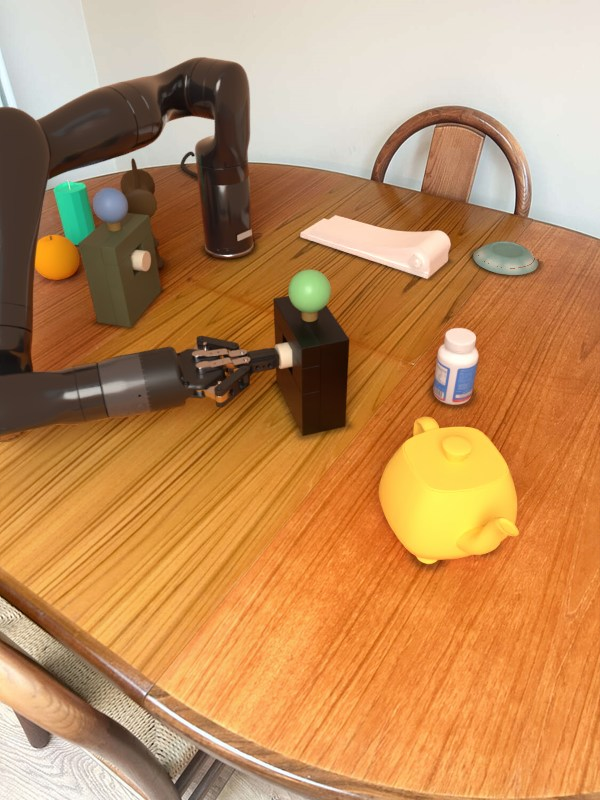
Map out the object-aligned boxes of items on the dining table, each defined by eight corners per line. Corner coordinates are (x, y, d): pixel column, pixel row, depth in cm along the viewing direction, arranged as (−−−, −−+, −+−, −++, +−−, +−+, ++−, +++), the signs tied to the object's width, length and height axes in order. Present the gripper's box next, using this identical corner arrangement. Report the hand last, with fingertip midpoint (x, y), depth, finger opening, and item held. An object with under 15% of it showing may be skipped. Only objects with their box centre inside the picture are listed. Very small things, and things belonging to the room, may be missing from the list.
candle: (89, 246, 128) (75, 186, 121) (60, 243, 129) (45, 184, 122) (102, 232, 133) (89, 174, 125) (74, 230, 134) (60, 172, 126)
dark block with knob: (302, 436, 86) (301, 301, 73) (276, 382, 94) (271, 253, 81) (345, 426, 87) (351, 292, 74) (315, 374, 96) (317, 246, 83)
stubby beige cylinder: (281, 373, 84) (281, 353, 82) (274, 359, 86) (274, 339, 84) (299, 370, 84) (299, 349, 82) (292, 356, 87) (291, 336, 85)
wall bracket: (324, 187, 130) (453, 223, 117) (328, 217, 136) (451, 255, 123) (295, 216, 125) (426, 257, 113) (300, 246, 131) (426, 288, 119)
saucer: (469, 234, 126) (468, 245, 127) (481, 264, 117) (479, 275, 118) (531, 234, 125) (529, 245, 127) (548, 264, 116) (545, 275, 118)
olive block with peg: (161, 291, 115) (143, 175, 102) (130, 327, 106) (106, 206, 93) (130, 286, 116) (108, 172, 103) (97, 322, 107) (68, 202, 94)
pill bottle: (473, 386, 93) (485, 328, 87) (468, 409, 89) (480, 351, 83) (435, 378, 95) (444, 321, 89) (428, 401, 91) (437, 343, 85)
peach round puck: (152, 265, 106) (149, 247, 104) (143, 274, 104) (140, 256, 102) (138, 263, 107) (135, 245, 105) (130, 273, 105) (126, 254, 102)
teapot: (461, 461, 82) (478, 381, 74) (551, 595, 67) (584, 513, 59) (357, 484, 79) (363, 403, 71) (427, 629, 64) (444, 547, 56)
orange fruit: (35, 288, 116) (23, 249, 111) (40, 267, 122) (29, 229, 117) (81, 283, 117) (72, 244, 112) (84, 262, 123) (75, 225, 118)
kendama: (165, 253, 126) (149, 147, 113) (169, 276, 119) (152, 166, 106) (133, 256, 125) (113, 150, 112) (135, 281, 118) (114, 170, 105)
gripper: (144, 391, 73) (293, 362, 77) (130, 328, 82) (262, 306, 86) (154, 440, 77) (293, 411, 82) (139, 376, 87) (265, 352, 91)
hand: (277, 357), depth 84 cm, fingers closed
